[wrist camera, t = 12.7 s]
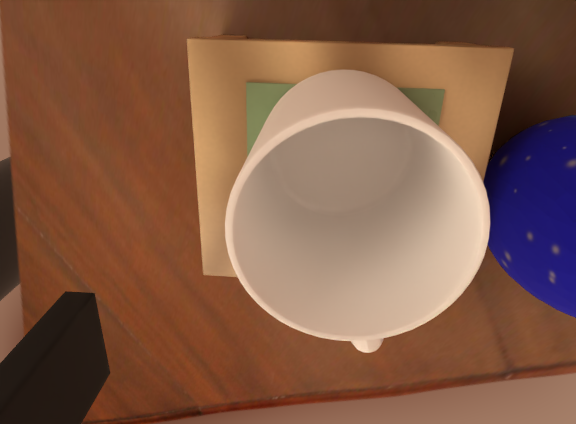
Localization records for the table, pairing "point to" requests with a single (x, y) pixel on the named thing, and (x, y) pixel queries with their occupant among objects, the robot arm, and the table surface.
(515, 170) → the ornament
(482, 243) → the mug
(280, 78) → the wooden side table
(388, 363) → the table surface
